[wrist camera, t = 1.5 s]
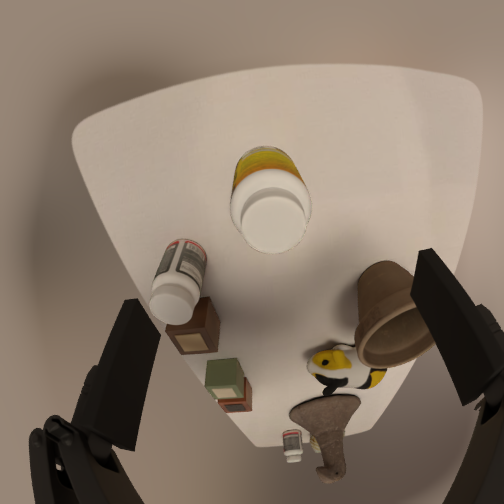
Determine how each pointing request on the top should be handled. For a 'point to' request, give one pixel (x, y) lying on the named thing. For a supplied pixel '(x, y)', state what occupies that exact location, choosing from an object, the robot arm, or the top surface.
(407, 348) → the flower pot
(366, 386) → the figurine
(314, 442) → the seashell
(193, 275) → the pill bottle
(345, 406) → the sculpture
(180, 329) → the block near
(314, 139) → the top surface
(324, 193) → the top surface
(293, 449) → the pill bottle
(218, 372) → the block far
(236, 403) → the block end
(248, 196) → the supplement bottle
